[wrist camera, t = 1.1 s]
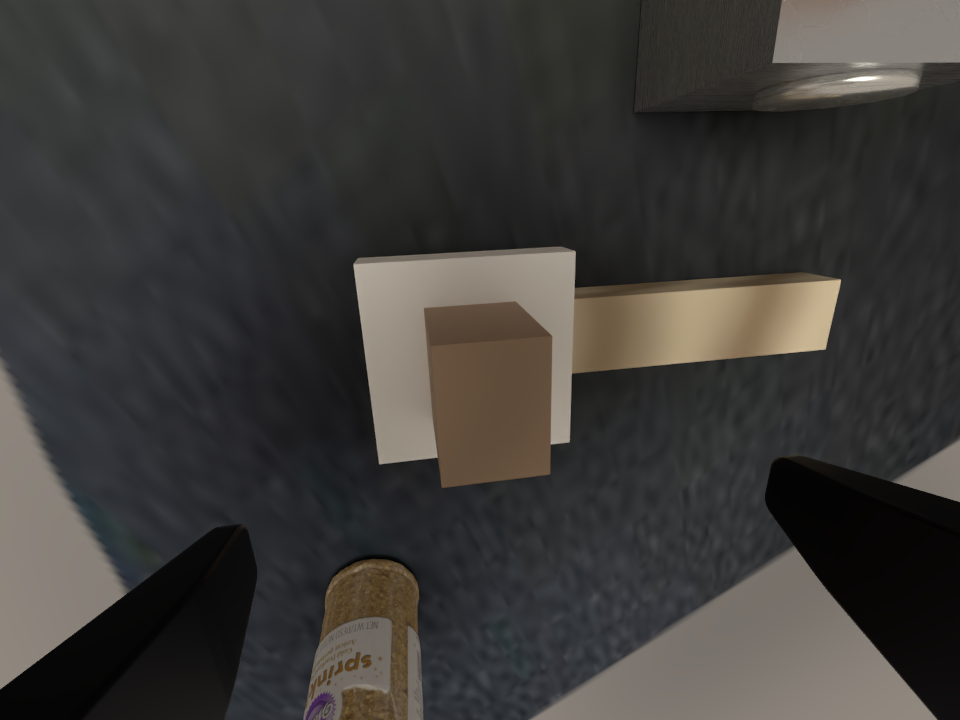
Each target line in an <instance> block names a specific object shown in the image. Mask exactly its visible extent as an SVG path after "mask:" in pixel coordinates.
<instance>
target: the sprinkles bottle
mask: <svg viewBox="0 0 960 720" xmlns="http://www.w3.org/2000/svg"><path fill="white" fill-rule="evenodd" d="M418 600H419V589H418V584H417V581H416V579H415V577H414V576H413V574H412V573H411V572H410V571H409V570H408V569H407V568H405V567H404V566H403V565H402V564H400V563H397V562H393V561H391V560H382V559H369V560H362V561H359V562H355V563H353V564H352V565H350V566H348V567H346V568H345V569H343V570H341V571H340V572H339V573H338V574H337V575H336V576H334V577H333V579H332V580H331V583H330V584H329V586H328V589H327V592H326V597H325V615H324V620H323V625H322V633H321V637H320V643H319V647H318V649H317V651H316V655H315V660H314V665H313V670H312V676H311V681H310V686H309V692H308V698H307V703H306V708H305V714H304V719H303V720H423V699H422V678H421V653H420V642H419V639H418V622H417V620H418V618H417V604H418Z"/></svg>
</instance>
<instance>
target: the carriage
mask: <svg viewBox="0 0 960 720" xmlns="http://www.w3.org/2000/svg"><path fill="white" fill-rule="evenodd" d="M575 260H576V251H573V250H570V249H567V248H564V247H543V248H526V249H508V250H491V251H473V252H456V253H438V254H420V255H403V256H385V257H368V258H358V259H357V260H356V261H355V263H354V264H353V265H354V273H355V281H356V289H357V296H358V304H359V312H360V319H361V327H362V335H363V343H364V350H365V358H366V366H367V374H368V381H369V389H370V397H371V405H372V412H373V420H374V428H375V435H376V443H377V451H378V459H379V464H386V463H395V462H404V461H412V460H421V459H429V458H438V463H439V471H440V478H441V486H442V488H445V487H453V486H461V485H469V484H477V483H485V482H494V481H502V480H510V479H518V478H526V477H534V476H542V475H550V450H551V444H559V443H568V442H570V415H571V384H572V353H573V322H574V291H575Z"/></svg>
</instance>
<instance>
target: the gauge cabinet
mask: <svg viewBox="0 0 960 720" xmlns="http://www.w3.org/2000/svg"><path fill="white" fill-rule="evenodd" d="M958 81H960V0H642V1H641V16H640V30H639V45H638V60H637V75H636V90H635V105H634V112H689V111H747V110H757V111H770V112H777V111H800V110H813V109H826V108H833V107H841V106H849V105H856V104H863V103H869V102H875V101H881V100H886V99H891V98H896V97H900V96H904V95H907V94H910V93H913V92H916V91H917V90H919V89H924V88H929V87H934V86H939V85H944V84H949V83H953V82H958Z"/></svg>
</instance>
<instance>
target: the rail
mask: <svg viewBox="0 0 960 720" xmlns="http://www.w3.org/2000/svg"><path fill="white" fill-rule="evenodd" d="M840 283H841V280H840V279H835V278H830V277H825V276H819V275H814V274H809V273H804V272H797V273H782V274H768V275H754V276H739V277H725V278H711V279H696V280H682V281H668V282H653V283H639V284H625V285H610V286H596V287H582V288H575V291H574V322H573V353H572V374H573V373H584V372H594V371H605V370H615V369H625V368H636V367H646V366H657V365H667V364H678V363H688V362H699V361H709V360H720V359H730V358H741V357H751V356H762V355H772V354H783V353H793V352H804V351H814V350H825V349H826V345H827V340H828V336H829V331H830V327H831V323H832V318H833V314H834V310H835V305H836V301H837V296H838V292H839V288H840Z"/></svg>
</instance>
